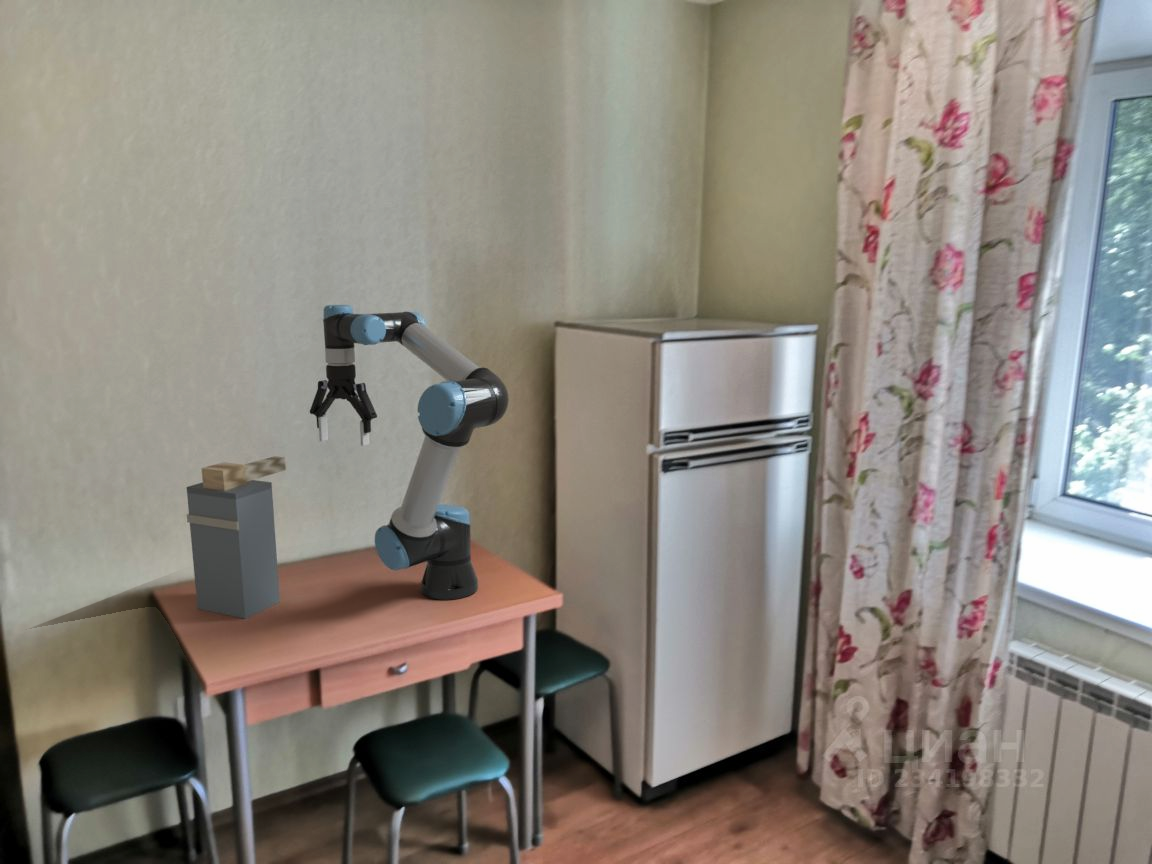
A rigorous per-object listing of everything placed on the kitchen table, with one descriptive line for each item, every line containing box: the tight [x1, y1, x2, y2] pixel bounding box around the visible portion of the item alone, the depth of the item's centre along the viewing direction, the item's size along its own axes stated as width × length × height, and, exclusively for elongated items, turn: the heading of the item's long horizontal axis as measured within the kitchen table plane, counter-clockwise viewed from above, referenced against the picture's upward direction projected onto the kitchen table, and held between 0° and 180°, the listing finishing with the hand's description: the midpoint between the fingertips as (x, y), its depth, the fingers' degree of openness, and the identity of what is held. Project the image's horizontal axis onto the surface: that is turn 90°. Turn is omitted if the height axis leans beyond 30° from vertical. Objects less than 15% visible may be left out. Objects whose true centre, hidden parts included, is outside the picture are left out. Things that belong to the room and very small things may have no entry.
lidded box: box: [186, 479, 281, 620], centre depth 217 cm, size 16×12×32 cm
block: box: [201, 455, 287, 491], centre depth 219 cm, size 23×7×5 cm, turn 156°
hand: (344, 442), depth 230 cm, fingers open, 13 cm apart
